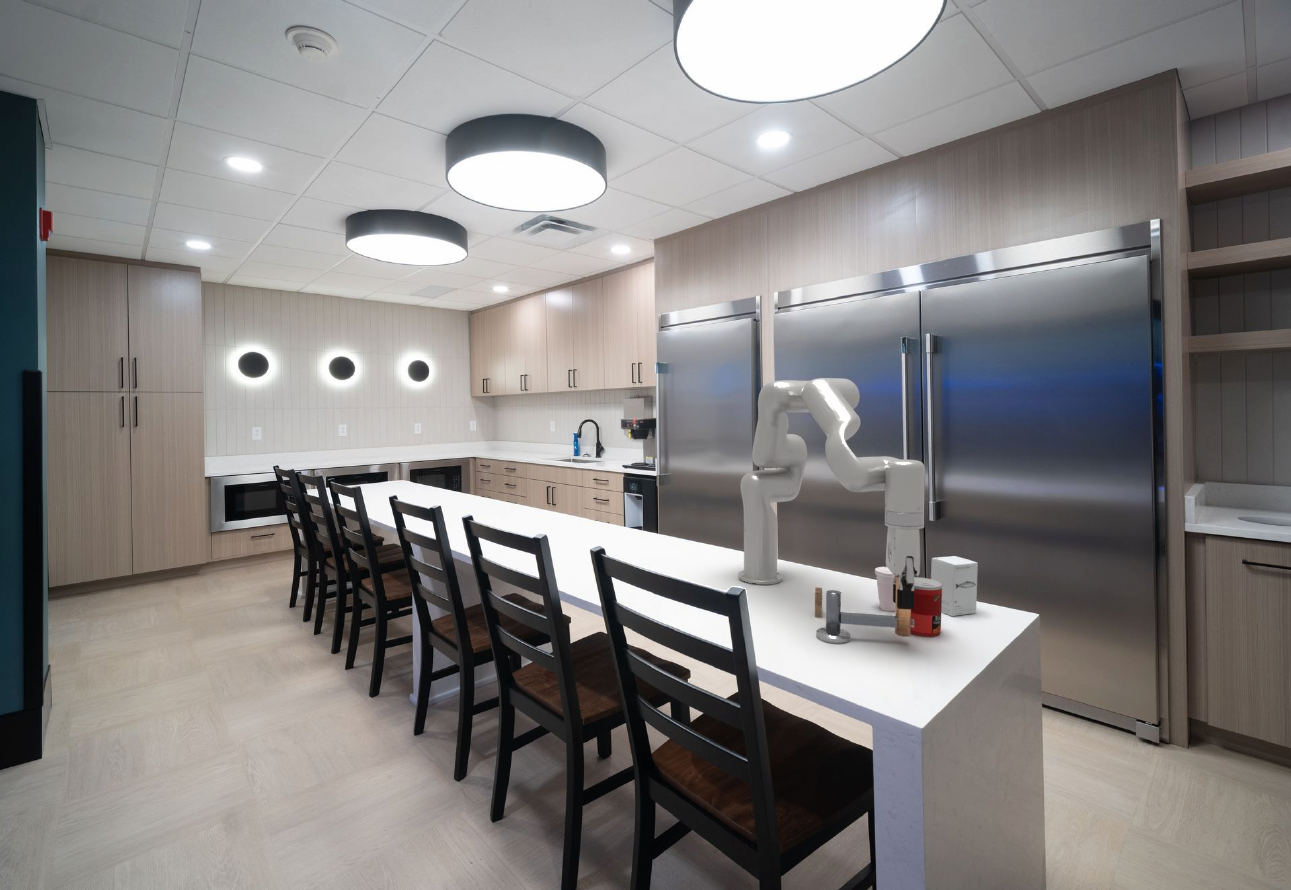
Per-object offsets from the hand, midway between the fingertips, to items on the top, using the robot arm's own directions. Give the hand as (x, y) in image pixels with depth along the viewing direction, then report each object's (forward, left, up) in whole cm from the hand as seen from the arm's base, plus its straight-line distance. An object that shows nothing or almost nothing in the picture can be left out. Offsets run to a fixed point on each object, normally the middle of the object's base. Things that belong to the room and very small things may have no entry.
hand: (903, 605), depth 124 cm
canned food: (-9, +5, -8) cm, 13 cm away
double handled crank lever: (0, -7, -7) cm, 10 cm away
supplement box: (-25, +14, -9) cm, 30 cm away
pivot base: (+1, -14, -8) cm, 16 cm away
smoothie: (-22, -1, -8) cm, 24 cm away
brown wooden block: (-13, -17, -8) cm, 23 cm away
